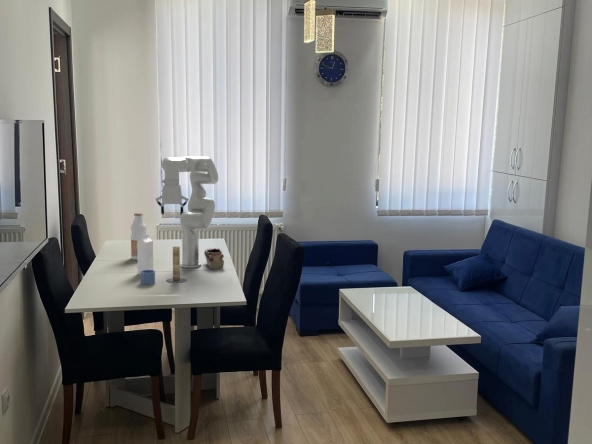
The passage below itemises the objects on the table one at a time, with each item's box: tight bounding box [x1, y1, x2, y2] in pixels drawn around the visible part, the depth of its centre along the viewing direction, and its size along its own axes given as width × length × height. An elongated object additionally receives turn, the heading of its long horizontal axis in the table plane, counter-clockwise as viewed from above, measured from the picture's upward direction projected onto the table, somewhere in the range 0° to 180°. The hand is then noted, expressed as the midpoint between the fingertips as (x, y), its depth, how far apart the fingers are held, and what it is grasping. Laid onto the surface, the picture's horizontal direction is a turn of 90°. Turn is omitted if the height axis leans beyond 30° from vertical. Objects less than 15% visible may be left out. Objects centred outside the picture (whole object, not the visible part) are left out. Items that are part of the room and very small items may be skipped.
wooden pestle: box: [172, 245, 181, 281], centre depth 323 cm, size 4×4×18 cm
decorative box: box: [203, 247, 225, 270], centre depth 361 cm, size 13×20×10 cm, turn 12°
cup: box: [140, 269, 156, 286], centre depth 318 cm, size 7×7×7 cm
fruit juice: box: [130, 212, 148, 261], centre depth 372 cm, size 9×9×28 cm
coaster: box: [165, 277, 188, 284], centre depth 325 cm, size 11×11×1 cm
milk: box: [137, 234, 154, 275], centre depth 336 cm, size 6×6×22 cm
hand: (172, 214), depth 330 cm, fingers open, 9 cm apart
